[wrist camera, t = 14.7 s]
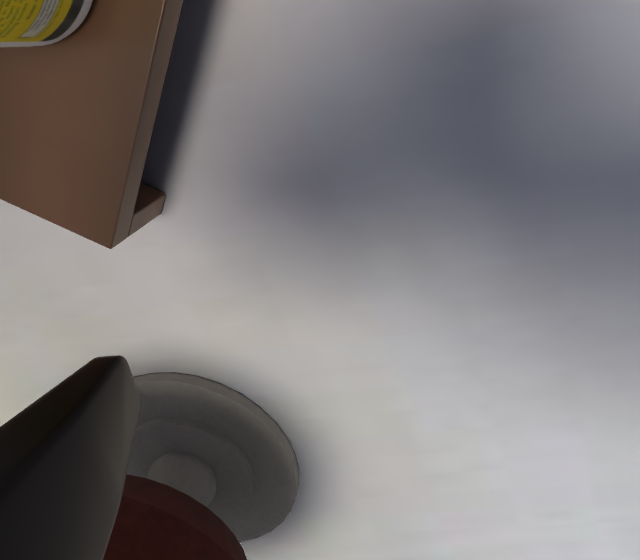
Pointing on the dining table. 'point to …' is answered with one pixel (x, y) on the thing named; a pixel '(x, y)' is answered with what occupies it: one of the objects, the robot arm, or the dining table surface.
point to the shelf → (87, 119)
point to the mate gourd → (200, 473)
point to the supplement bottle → (39, 21)
